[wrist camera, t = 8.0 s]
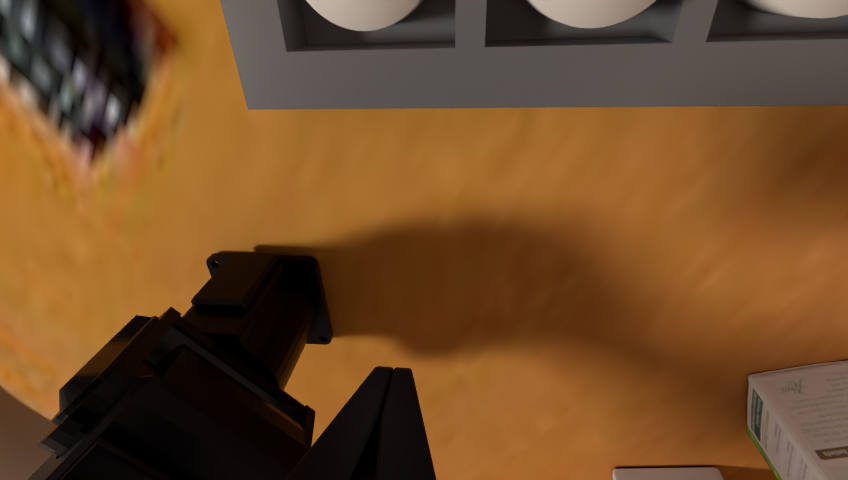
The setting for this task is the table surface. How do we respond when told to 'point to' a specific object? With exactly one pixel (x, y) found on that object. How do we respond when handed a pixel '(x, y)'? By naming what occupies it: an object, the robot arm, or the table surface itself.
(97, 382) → the robot arm
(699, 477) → the milk carton
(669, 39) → the board
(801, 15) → the button
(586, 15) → the button
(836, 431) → the syrup box
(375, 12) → the button
